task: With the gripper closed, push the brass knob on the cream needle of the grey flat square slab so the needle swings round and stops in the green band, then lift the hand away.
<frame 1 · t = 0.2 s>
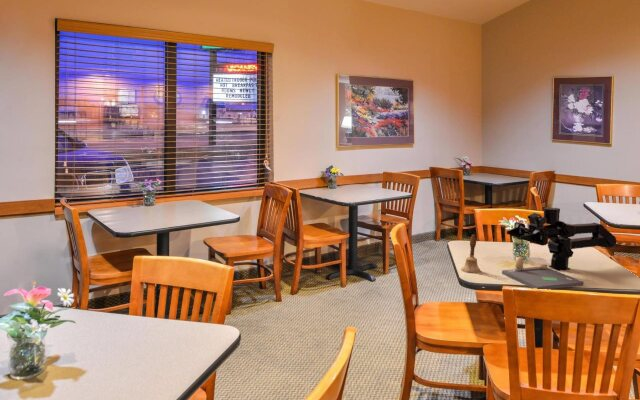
hand: (513, 235, 217), 17 cm above the table, tool horizontal, fingers open, 9 cm apart
grey flat square slab: (541, 279, 211), on the table
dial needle: (530, 262, 219), point 4 cm above the table, hinge at 0.0°
hand bell: (470, 270, 223), on the table
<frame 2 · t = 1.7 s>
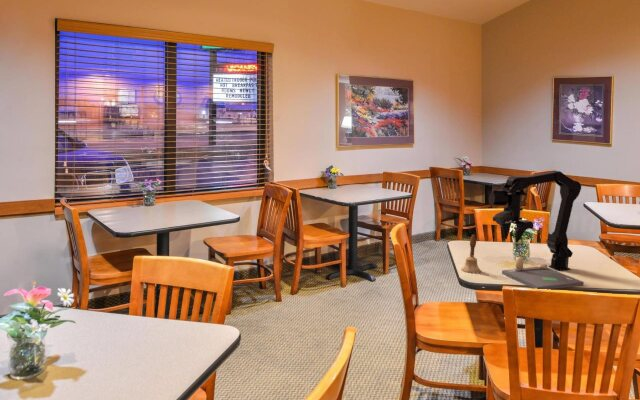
hand: (511, 240, 222), 13 cm above the table, tool pointing down, fingers open, 6 cm apart
nothing on the table moved.
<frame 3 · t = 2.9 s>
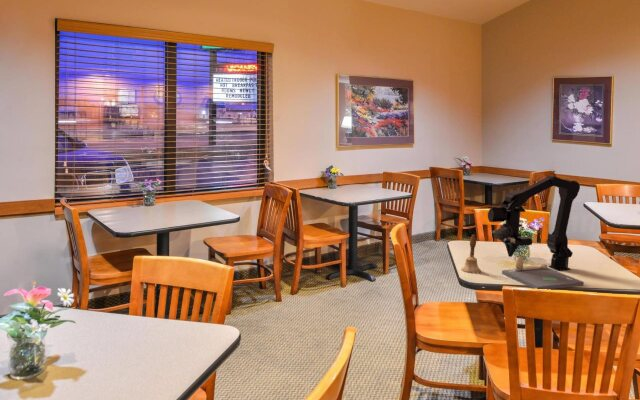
hand: (510, 256, 223), 6 cm above the table, tool pointing down, fingers closed
nothing on the table moved.
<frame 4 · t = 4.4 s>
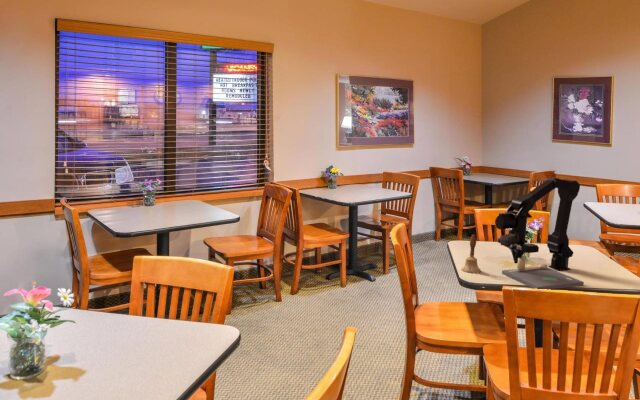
hand: (515, 263, 219), 4 cm above the table, tool pointing down, fingers closed
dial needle: (531, 263, 218), point 4 cm above the table, hinge at 5.2°, touching gripper
everything else where it was.
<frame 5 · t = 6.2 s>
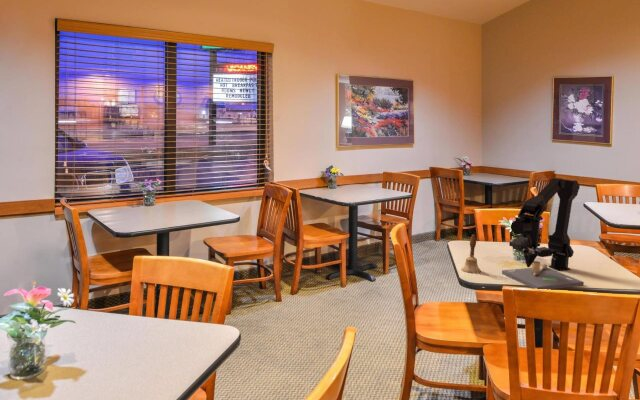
hand: (528, 267, 214), 4 cm above the table, tool pointing down, fingers closed
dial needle: (539, 265, 216), point 4 cm above the table, hinge at 37.0°, touching gripper
everything else where it was.
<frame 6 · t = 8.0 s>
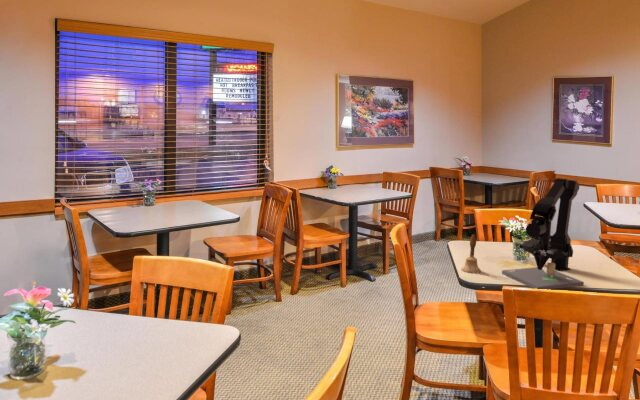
hand: (539, 269, 210), 4 cm above the table, tool pointing down, fingers closed
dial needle: (547, 265, 215), point 4 cm above the table, hinge at 64.2°
everything else where it was.
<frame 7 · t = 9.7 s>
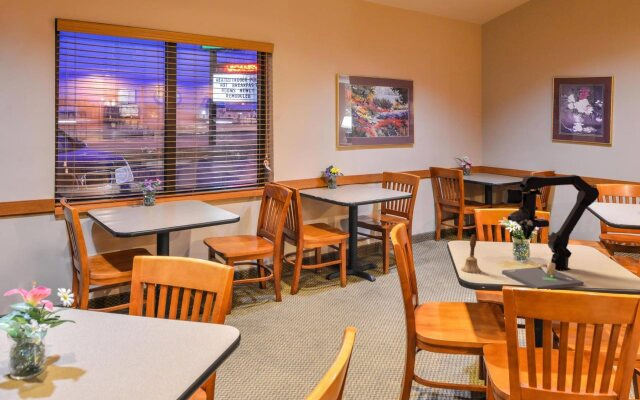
hand: (526, 239, 226), 13 cm above the table, tool pointing down, fingers closed
nothing on the table moved.
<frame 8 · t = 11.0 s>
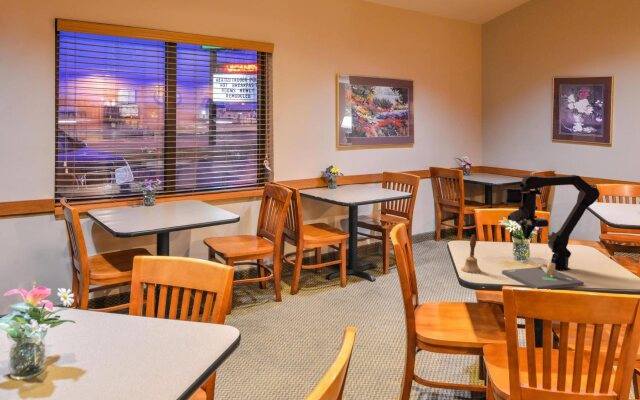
hand: (526, 238, 226), 13 cm above the table, tool pointing down, fingers closed
nothing on the table moved.
at the end: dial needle at +64° (first picture: +0°); hand bell moved 0.3 cm from its start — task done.
